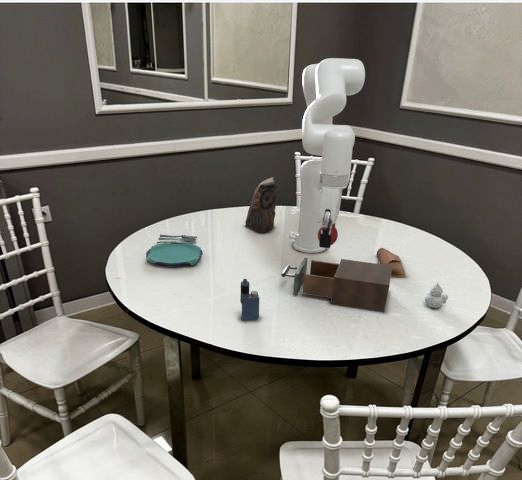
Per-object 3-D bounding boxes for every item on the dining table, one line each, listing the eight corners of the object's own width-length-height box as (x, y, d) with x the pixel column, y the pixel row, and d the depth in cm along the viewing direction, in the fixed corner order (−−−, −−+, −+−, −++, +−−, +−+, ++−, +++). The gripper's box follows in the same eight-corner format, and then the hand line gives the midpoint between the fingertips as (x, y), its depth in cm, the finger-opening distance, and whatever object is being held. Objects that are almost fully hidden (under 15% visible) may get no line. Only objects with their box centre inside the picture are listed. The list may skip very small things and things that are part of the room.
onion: (320, 242, 142) (322, 216, 137) (338, 245, 140) (341, 219, 135) (313, 248, 137) (316, 221, 133) (332, 252, 135) (335, 225, 131)
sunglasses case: (407, 276, 159) (400, 259, 156) (387, 284, 161) (380, 268, 158) (398, 256, 174) (392, 240, 171) (380, 264, 176) (374, 249, 173)
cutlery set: (141, 268, 159) (141, 262, 157) (155, 237, 184) (154, 232, 182) (201, 269, 160) (200, 263, 158) (206, 238, 185) (206, 233, 183)
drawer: (277, 292, 145) (278, 271, 141) (288, 274, 156) (289, 255, 152) (340, 301, 140) (343, 280, 137) (346, 283, 151) (349, 263, 148)
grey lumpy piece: (421, 301, 144) (427, 277, 140) (442, 302, 144) (449, 278, 140) (426, 310, 140) (432, 285, 135) (448, 311, 140) (455, 286, 135)
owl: (272, 223, 203) (274, 175, 192) (283, 232, 193) (286, 182, 182) (244, 225, 199) (245, 176, 188) (254, 235, 189) (255, 184, 178)
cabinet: (330, 304, 141) (334, 277, 136) (338, 284, 153) (341, 258, 148) (384, 312, 138) (389, 285, 133) (387, 291, 150) (392, 265, 145)
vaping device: (240, 316, 133) (240, 277, 126) (258, 316, 133) (259, 277, 127) (240, 321, 131) (240, 281, 124) (259, 320, 131) (260, 281, 125)
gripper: (325, 171, 136) (319, 232, 146) (314, 186, 122) (308, 252, 132) (351, 174, 134) (343, 235, 144) (343, 189, 120) (334, 255, 130)
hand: (326, 242), depth 138 cm, fingers closed on onion, 6 cm apart
